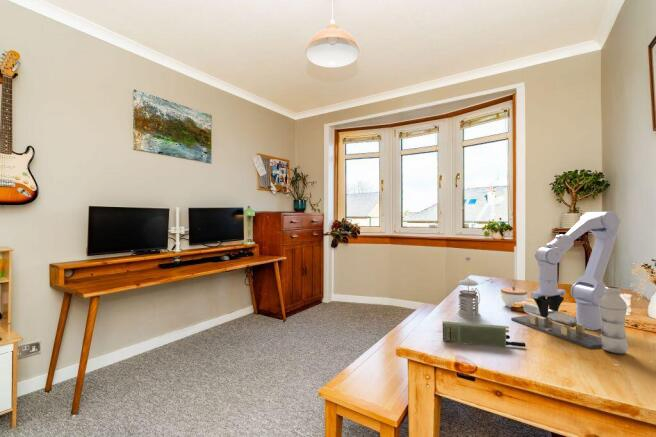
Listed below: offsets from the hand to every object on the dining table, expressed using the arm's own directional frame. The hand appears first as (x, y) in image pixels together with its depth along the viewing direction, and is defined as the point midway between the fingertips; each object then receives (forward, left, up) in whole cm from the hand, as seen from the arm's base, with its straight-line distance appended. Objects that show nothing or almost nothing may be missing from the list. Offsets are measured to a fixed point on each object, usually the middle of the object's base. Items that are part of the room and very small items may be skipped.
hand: (548, 315), depth 120 cm
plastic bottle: (0, +22, -5) cm, 22 cm away
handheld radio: (+34, +4, -5) cm, 34 cm away
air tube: (0, 0, -1) cm, 1 cm away
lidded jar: (-12, -27, -5) cm, 30 cm away
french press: (+16, -23, -5) cm, 28 cm away
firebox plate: (0, +3, -5) cm, 6 cm away
